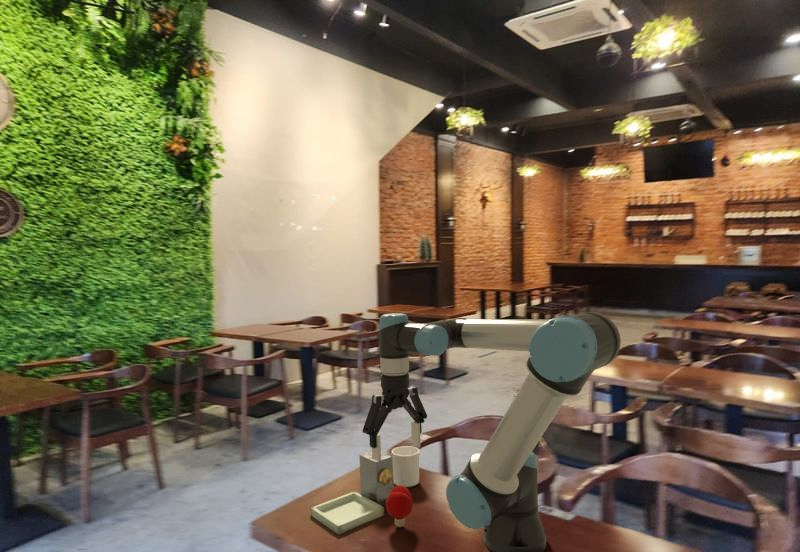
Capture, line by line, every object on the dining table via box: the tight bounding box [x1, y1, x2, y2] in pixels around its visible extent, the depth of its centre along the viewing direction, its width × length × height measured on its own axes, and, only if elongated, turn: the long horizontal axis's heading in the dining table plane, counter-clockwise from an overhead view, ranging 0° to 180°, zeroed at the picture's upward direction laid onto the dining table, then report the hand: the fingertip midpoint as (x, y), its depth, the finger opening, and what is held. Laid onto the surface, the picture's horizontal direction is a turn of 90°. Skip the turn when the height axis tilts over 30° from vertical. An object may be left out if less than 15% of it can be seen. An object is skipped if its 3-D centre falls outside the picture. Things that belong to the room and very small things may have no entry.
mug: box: [391, 445, 421, 489], centre depth 164 cm, size 11×9×10 cm
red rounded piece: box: [385, 486, 414, 529], centre depth 135 cm, size 9×7×10 cm
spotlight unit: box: [358, 450, 394, 508], centre depth 152 cm, size 10×7×13 cm
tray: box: [310, 490, 385, 535], centre depth 143 cm, size 14×15×2 cm
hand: (396, 452), depth 135 cm, fingers open, 13 cm apart
